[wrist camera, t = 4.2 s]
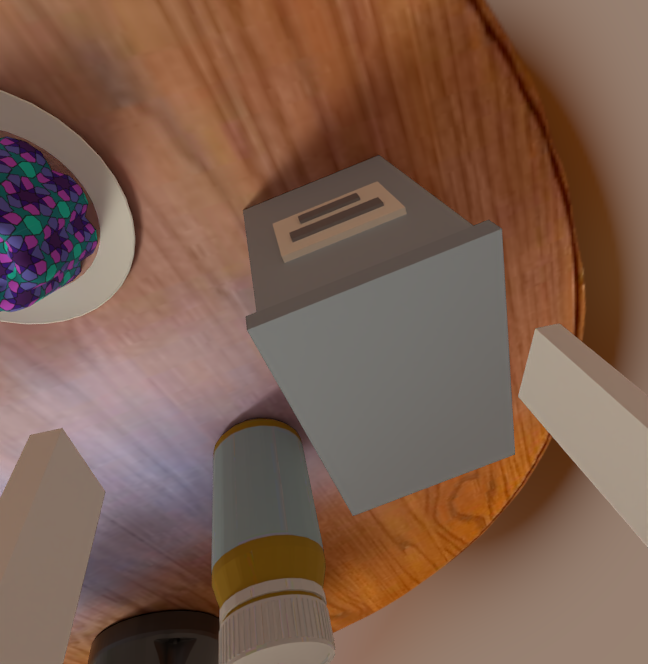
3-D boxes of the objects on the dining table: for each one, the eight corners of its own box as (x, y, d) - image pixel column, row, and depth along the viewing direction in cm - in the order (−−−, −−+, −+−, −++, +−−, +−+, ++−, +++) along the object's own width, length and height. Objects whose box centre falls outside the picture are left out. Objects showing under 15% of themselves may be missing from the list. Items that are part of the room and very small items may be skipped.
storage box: (422, 322, 30) (515, 454, 21) (311, 366, 30) (352, 515, 21) (382, 144, 22) (501, 224, 13) (234, 204, 23) (245, 326, 13)
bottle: (208, 471, 35) (202, 702, 23) (220, 410, 31) (221, 647, 19) (289, 472, 37) (322, 682, 25) (309, 415, 33) (360, 630, 21)
